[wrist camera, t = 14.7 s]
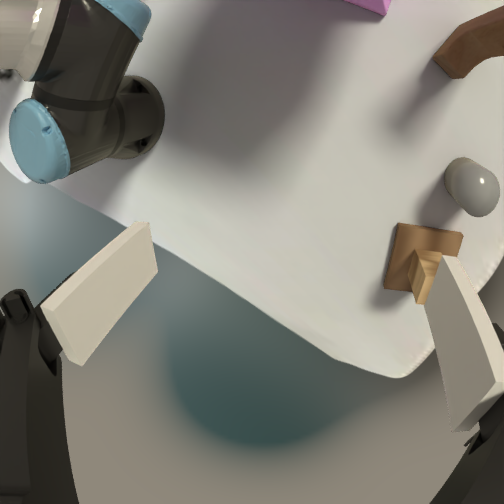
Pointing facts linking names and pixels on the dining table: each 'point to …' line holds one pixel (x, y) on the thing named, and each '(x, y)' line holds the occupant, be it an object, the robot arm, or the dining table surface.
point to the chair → (373, 5)
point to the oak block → (423, 273)
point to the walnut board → (417, 239)
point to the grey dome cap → (472, 186)
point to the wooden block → (472, 44)
